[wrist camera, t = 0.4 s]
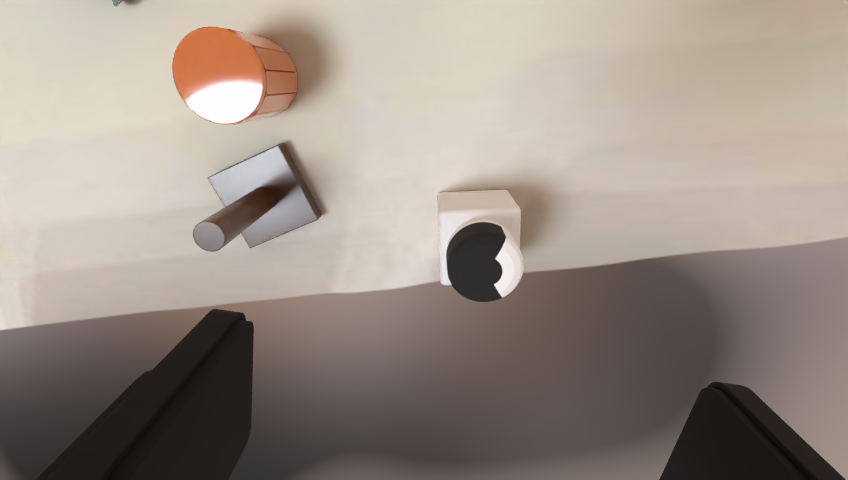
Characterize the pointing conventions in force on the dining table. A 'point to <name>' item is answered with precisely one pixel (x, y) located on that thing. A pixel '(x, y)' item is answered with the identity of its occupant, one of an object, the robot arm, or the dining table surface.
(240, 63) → the cup
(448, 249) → the medicine bottle
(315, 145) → the dining table surface
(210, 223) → the stand
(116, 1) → the lucky cat figurine
